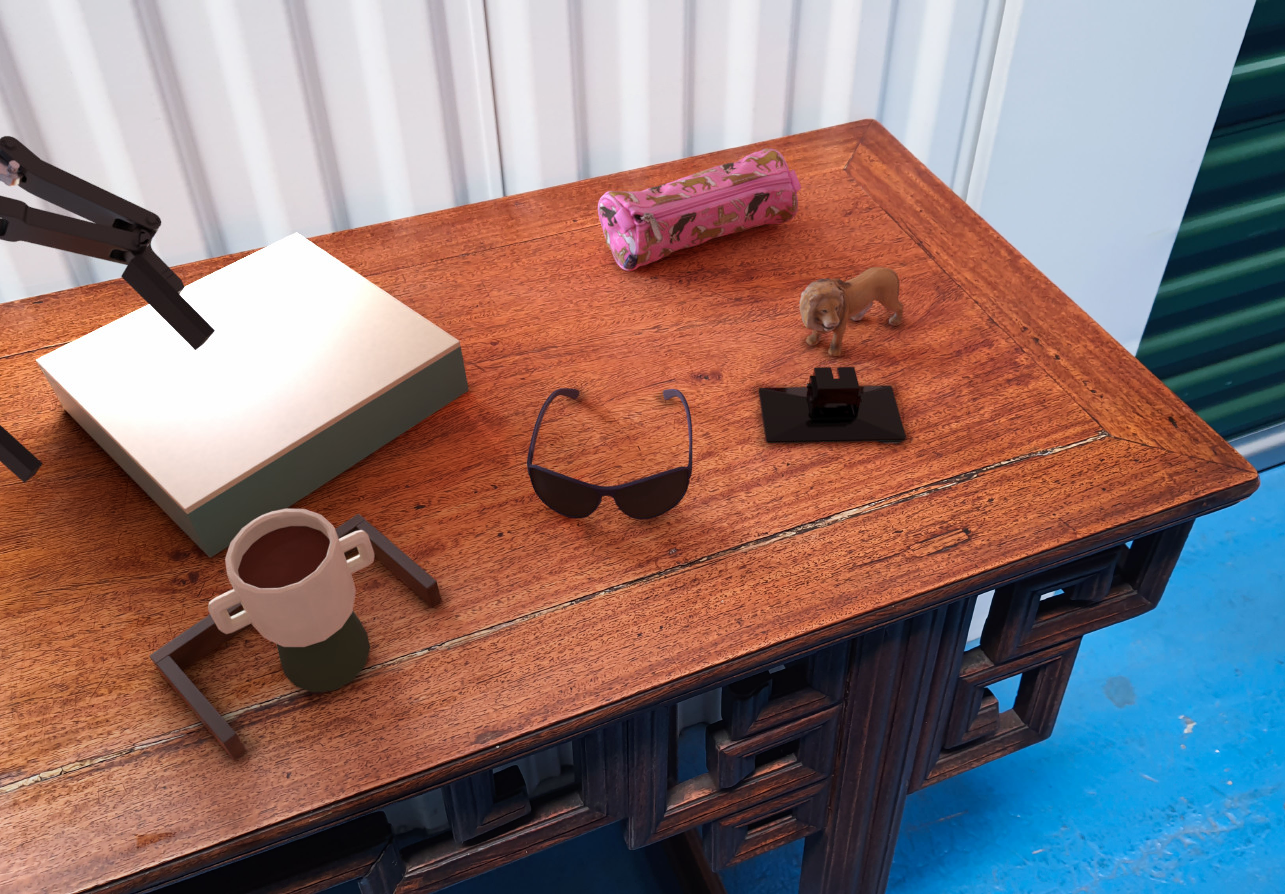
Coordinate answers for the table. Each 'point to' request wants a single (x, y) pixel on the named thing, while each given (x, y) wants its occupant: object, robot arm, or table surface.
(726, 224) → the pencil case
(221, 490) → the cream square platform
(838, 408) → the build plate
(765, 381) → the table surface
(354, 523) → the dark brown u-shaped bracket
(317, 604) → the character mug
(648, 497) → the sunglasses
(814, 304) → the lion figurine
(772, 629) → the table surface
